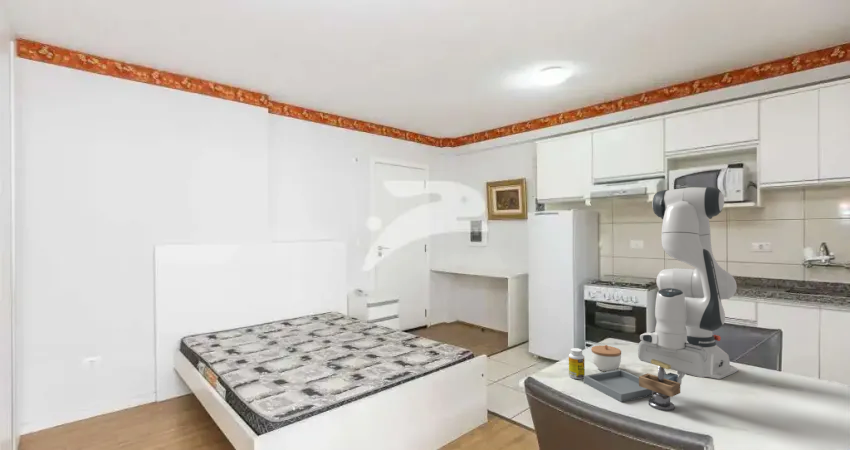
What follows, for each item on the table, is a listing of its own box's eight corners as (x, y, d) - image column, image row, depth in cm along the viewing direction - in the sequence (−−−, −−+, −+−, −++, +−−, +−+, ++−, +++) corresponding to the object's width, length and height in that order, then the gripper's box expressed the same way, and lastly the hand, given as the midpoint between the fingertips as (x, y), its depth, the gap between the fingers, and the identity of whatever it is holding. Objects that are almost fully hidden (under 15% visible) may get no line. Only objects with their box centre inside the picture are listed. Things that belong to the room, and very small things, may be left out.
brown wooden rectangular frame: (690, 387, 129) (690, 378, 129) (671, 397, 122) (671, 387, 122) (658, 378, 137) (658, 369, 137) (639, 386, 131) (638, 376, 131)
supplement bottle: (578, 380, 148) (578, 352, 148) (565, 376, 153) (565, 349, 153) (587, 377, 151) (587, 350, 151) (575, 373, 156) (574, 346, 156)
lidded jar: (623, 367, 161) (622, 343, 161) (619, 376, 152) (619, 351, 152) (594, 362, 167) (594, 339, 167) (589, 371, 158) (588, 346, 158)
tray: (620, 375, 152) (620, 369, 152) (660, 393, 136) (660, 386, 136) (583, 382, 147) (583, 375, 146) (621, 402, 131) (621, 394, 131)
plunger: (643, 402, 130) (642, 360, 130) (659, 399, 132) (659, 357, 132) (662, 412, 123) (662, 367, 123) (679, 408, 126) (679, 364, 125)
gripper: (711, 345, 125) (712, 390, 125) (645, 331, 142) (645, 370, 142) (702, 349, 121) (702, 395, 121) (635, 334, 139) (635, 374, 139)
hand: (671, 382), depth 132 cm, fingers closed on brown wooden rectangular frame, 2 cm apart
